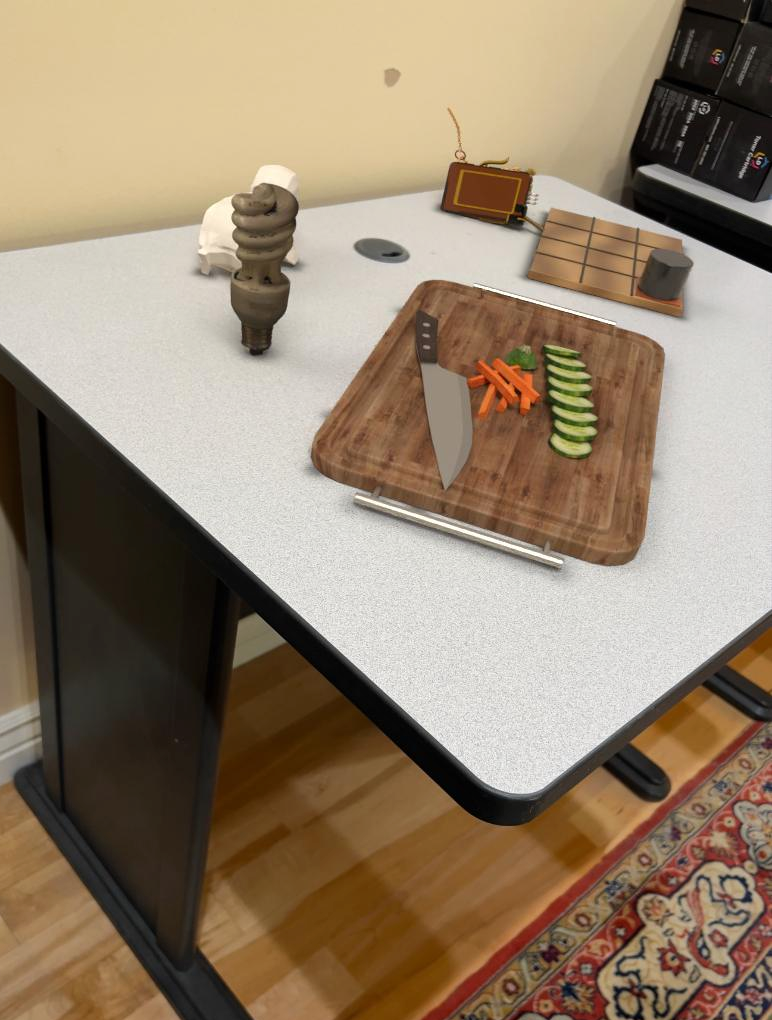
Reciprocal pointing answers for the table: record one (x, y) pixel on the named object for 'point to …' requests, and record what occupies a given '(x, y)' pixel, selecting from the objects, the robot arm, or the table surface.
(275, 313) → the light bulb
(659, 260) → the dark grey short cylinder
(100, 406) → the table surface
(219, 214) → the white lumpy sculpture
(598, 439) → the chopping board
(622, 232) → the game board
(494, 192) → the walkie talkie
